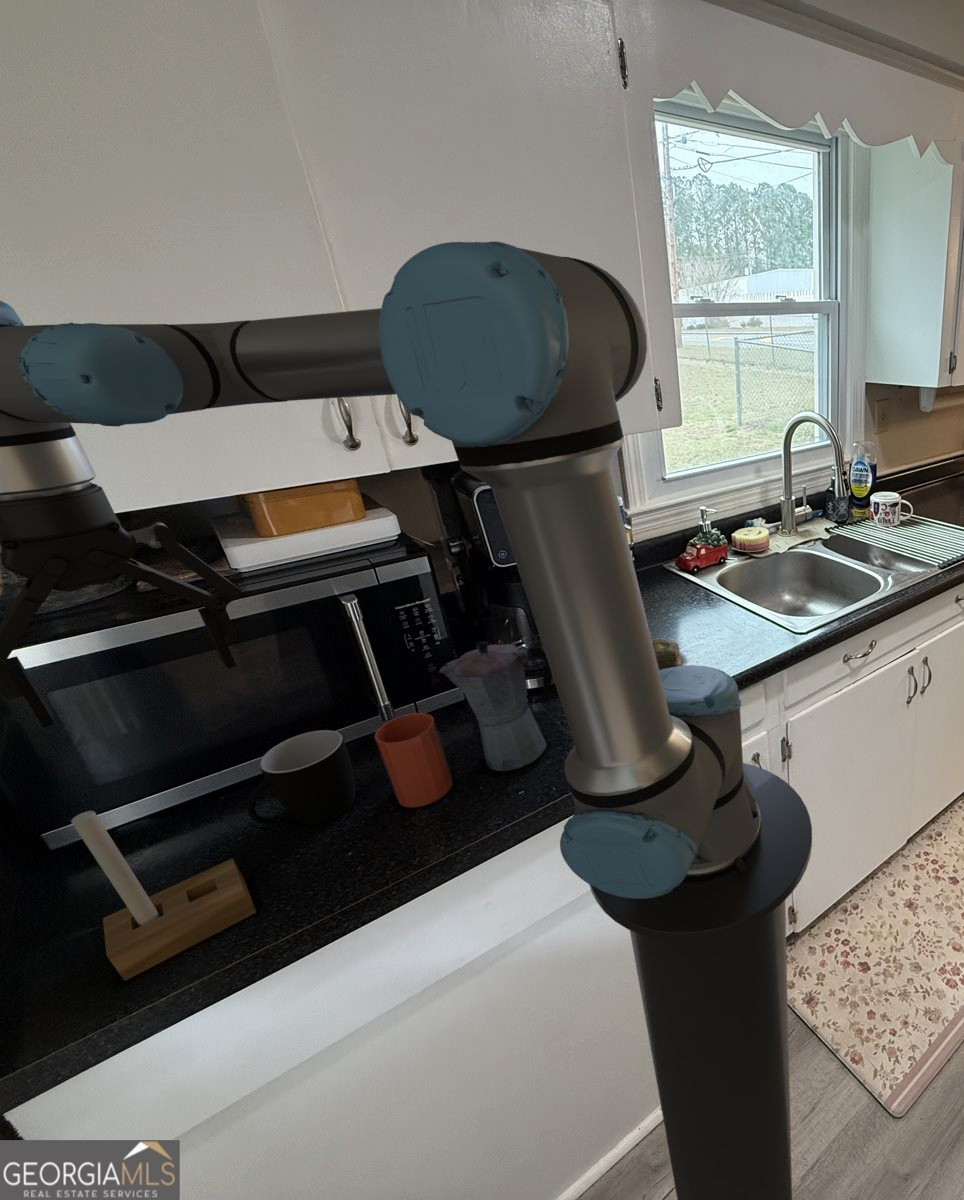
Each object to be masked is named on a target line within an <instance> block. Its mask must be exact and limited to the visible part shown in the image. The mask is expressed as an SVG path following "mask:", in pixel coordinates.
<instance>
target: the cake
mask: <svg viewBox="0 0 964 1200" xmlns="http://www.w3.org/2000/svg"><path fill="white" fill-rule="evenodd" d="M652 644H653V648H654V652H655V656H656V660H657V664H658V669H659V670H663V669H667V668H671V667H677V666H682V665H683V664H684V658H683V656H682V655H680V647H679V644H678V643H677V642H676V641H672V640H669V639H655V640H652Z"/></svg>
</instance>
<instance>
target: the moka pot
mask: <svg viewBox="0 0 964 1200" xmlns="http://www.w3.org/2000/svg"><path fill="white" fill-rule="evenodd" d="M475 647H476V649H473V650H471V651H470V650H469V651H467V652H465V653H464V654H462V655H461V656H460V657H459V658H457V659H453V660H451V661H448V662H447V663H445V665H443V666H442V667H440V669H439V671H438V674H442V675H445V677H446V678H447V679H448V680H450V681H451V682H452V683H453V684H454V685H455V686H456V687H457V689H459V690H460V691H461V692H462V693H463V695H464V696H465V698H466V700H467V702H468V704H469V706H470V708H471V710H472V712H473V713H474V714H475V718H476V719H477V721H478V726H479V727H478V728H479V731H480V738H481V743H482V749H483V755H484V759H485V762H486V765H487V767H488V768H489V769H491V770H494V771H498V772H510V771H513V770H518V769H521V768H523V767H526V766H528V765H530V764H532V763H533V762H534V761H536V760H537V759H538V758H540V757H541V755H543V754H544V752H545V751H546V748H547V746H548V744H547V742H546V740H545V738H544V736H543V733H542V731H541V730H540V727H539V725H538V723H537V720H536V719H535V717H534V715H533V712H532V711H531V709H530V707H529V699H528V698H527V697H528V688H527V682H526V681H527V680H526V674H525V667H524V663H528V662H532V661H534V660H535V659H537V658H541V659H543V660H544V665H543V666H544V667H543V668H544V669H543V671H544V672H543V677H542V678H543V684H542V685H543V687H542V691H541V695H539V696H534V697H533V698H532V699H531V700H532V703H534V704H539V703H543V702H546V701H548V700H550V695H551V688H552V683H553V682H552V681H553V679H552V678H553V676H552V673H551V670H550V666H549V663H548V660H547V657H546V654H545V651H544V650H543V649H542V648H539V646H538V645H534V646H531V647H529V648H528V647H524V648H517V646H516V645H515V644H490V645H489V644H488V641H487V640H483V641H478V642H477V643H475Z"/></svg>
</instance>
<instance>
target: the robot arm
mask: <svg viewBox="0 0 964 1200" xmlns="http://www.w3.org/2000/svg"><path fill="white" fill-rule="evenodd" d="M393 278H394V279H393V281H392V285H391V287H390V289H389V291H388V292H386V293H385V295H384V296H383V299H382V304H381V307H380V308H368V309H357V310H347V311H337V312H335V311H334V312H326V313H316V314H305V315H294V316H284V317H274V318H262V319H251V320H247V319H246V320H237V321H235V320H234V321H227V322H226V321H225V322H210V323H208V322H206V323H177V324H173V323H172V324H169V323H168V324H167V323H126V324H123V323H122V324H121V323H119V324H117V323H111V324H110V323H109V324H106V323H96V322H87V323H74V322H67V323H58V324H36V325H35V324H34V325H30V324H29V325H25V324H24V322H23V321H22V320H21V318H20V316H19V314H18V313H17V311H16V310H15V309H14V307H12V306H11V305H9V303H6V302H4V301H3V300H0V548H1V551H0V570H4V569H5V570H7V571H9V572H10V573H13V574H15V575H18V576H20V577H23V578H25V579H26V581H25V582H24V584H23V586H21V589H20V591H19V594H18V595H17V596H16V598H15V600H14V601H13V603H12V604H11V606H10V608H9V610H8V611H7V612H6V614H5V616H4V617H3V619H2V620H1V622H0V696H1V697H3V698H4V699H6V700H7V701H11V700H13V699H17V698H20V697H23V698H24V699H25V701H26V702H27V704H28V705H29V707H30V708H31V710H32V712H33V714H34V715H35V717H36V718H37V720H38V721H39V724H41V726H42V728H44V729H45V728H48V727H51V726H54V725H56V722H55V718H54V714H53V712H52V711H51V709H50V707H49V706H48V705H47V703H46V701H45V699H44V697H43V696H42V694H41V692H40V691H39V690H38V688H37V686H36V685H35V683H34V681H33V679H32V678H31V676H30V675H29V673H28V672H27V671H26V669H25V667H24V665H23V664H22V662H21V660H20V659H19V657H18V655H17V656H16V655H15V656H12V657H10V655H11V654H12V652H13V650H14V649H15V647H16V646H17V644H18V643H19V641H20V640H21V638H22V636H23V634H24V633H25V632H26V631H27V628H28V626H29V625H30V623H31V622H32V620H33V619H34V617H35V615H36V614H37V612H38V610H39V609H40V608H41V606H42V605H43V604H44V603H45V602H46V600H47V599H48V597H49V595H50V594H51V592H52V590H55V591H60V592H67V593H71V592H75V591H79V590H82V589H84V588H86V587H89V586H95V585H96V586H97V585H106V584H107V585H108V584H111V583H114V582H115V580H117V579H119V578H120V577H121V576H122V575H123V576H126V577H128V578H131V579H133V580H136V581H139V582H141V583H145V584H147V585H150V586H151V587H152V586H153V587H155V588H157V589H159V590H162V591H164V592H167V593H169V594H172V595H174V596H177V597H179V598H182V599H185V600H186V601H189V602H192V603H194V604H196V605H199V606H201V608H197V611H198V613H199V615H200V617H201V619H202V621H203V624H204V626H205V628H206V630H207V632H208V634H209V635H208V636H209V637H210V639H211V641H212V643H213V646H214V648H215V650H216V652H217V654H218V657H219V658H220V660H221V663H223V665H224V666H225V667H226V669H228V670H229V669H232V668H235V667H237V664H236V661H235V659H234V657H233V655H232V652H231V650H230V648H229V646H228V644H227V641H226V639H225V638H226V637H229V636H233V635H235V630H236V629H235V627H234V624H233V622H232V620H231V618H230V616H229V613H228V611H227V607H228V605H229V604H230V603H232V602H234V601H237V600H240V599H242V597H243V596H244V593H243V591H242V590H241V588H240V587H238V586H237V585H236V584H235V583H233V582H232V581H230V580H229V579H227V578H226V577H224V576H223V575H222V574H221V573H219V572H217V570H215V569H214V568H212V566H209V564H207V563H206V562H204V561H203V560H202V559H200V558H199V557H198V556H196V555H195V554H194V553H192V552H191V551H189V550H188V549H187V548H186V547H185V546H184V545H181V544H180V542H178V540H177V538H176V537H175V535H174V534H173V532H172V531H171V529H170V528H169V526H167V525H166V524H165V523H163V522H161V521H153V522H151V523H150V524H149V526H147V527H142V528H139V529H135V530H132V531H127V530H126V529H124V527H122V525H121V524H120V521H119V519H118V517H117V515H116V513H115V511H114V509H113V507H112V505H111V502H110V501H109V499H108V497H107V495H106V493H105V491H104V489H103V487H102V486H101V485H98V484H97V483H93V482H91V481H94V479H95V478H96V477H97V474H96V472H95V470H94V468H93V465H92V463H91V462H90V459H89V457H88V455H87V453H86V451H85V449H84V447H83V445H82V443H81V441H80V439H79V437H78V435H77V433H76V430H74V426H73V425H72V424H86V425H87V424H89V425H100V426H103V427H118V428H119V427H122V426H125V425H126V426H127V425H138V424H150V423H154V422H157V421H161V420H163V419H165V418H166V417H167V416H169V415H175V414H183V413H184V414H185V413H191V412H197V411H204V410H207V409H208V410H209V409H218V408H227V407H235V406H237V407H238V406H244V405H254V404H271V403H284V402H285V403H286V402H292V401H293V402H294V401H308V400H309V401H310V400H325V399H326V400H327V399H343V398H359V397H375V396H392V395H393V396H395V395H396V396H397V398H398V399H399V400H400V403H401V404H402V405H403V406H404V407H405V409H406V410H407V411H408V412H409V413H410V415H411V416H414V417H418V418H420V419H422V420H423V426H424V427H426V429H428V430H429V431H430V432H432V433H433V434H435V435H438V436H439V437H442V438H444V439H446V440H448V441H451V443H452V446H453V449H454V452H455V455H456V457H457V461H458V463H459V466H460V468H461V470H462V471H464V472H466V473H468V474H469V475H471V476H472V477H474V478H476V479H478V480H479V481H481V482H483V483H485V484H486V485H487V486H488V487H490V488H491V491H492V493H493V497H494V500H495V503H496V506H497V509H498V513H499V515H500V518H501V521H502V525H503V527H504V531H505V534H506V536H507V539H508V542H509V546H510V550H511V552H512V555H513V558H514V560H515V565H516V568H517V570H518V575H519V577H520V580H521V583H522V586H523V589H524V592H525V596H526V599H527V601H528V604H529V607H530V611H531V614H532V617H533V620H534V623H535V625H536V629H537V632H538V635H539V639H540V641H541V644H542V647H543V651H544V652H545V654H546V657H547V660H548V663H549V666H550V670H551V673H552V678H553V679H552V680H553V681H554V685H555V687H556V692H557V695H558V696H559V700H560V703H561V706H562V711H563V713H564V715H565V719H566V722H567V725H568V728H569V731H570V733H571V734H570V735H571V737H572V741H573V744H574V746H573V747H572V748H571V749H570V751H569V752H568V754H567V756H566V759H565V761H564V766H563V767H564V769H563V770H564V776H565V780H566V782H567V785H568V788H569V792H570V795H571V798H572V801H573V804H574V813H573V815H572V817H570V818H568V820H567V821H566V823H565V824H564V826H563V831H562V833H561V835H560V840H559V849H560V854H561V856H562V858H563V860H564V862H565V863H566V865H567V866H568V868H569V869H570V870H571V871H572V873H574V875H576V876H577V877H578V878H579V879H581V880H582V881H583V882H585V883H586V884H588V885H589V884H590V885H592V886H594V887H597V888H598V889H600V890H602V891H604V892H607V893H610V894H613V895H616V896H620V897H626V898H635V899H646V898H653V897H658V896H661V895H664V894H666V893H668V892H670V891H672V890H673V888H675V887H677V886H678V885H679V884H680V883H681V882H682V881H704V880H709V879H713V878H716V877H719V876H722V875H724V874H727V873H729V872H731V871H732V870H734V869H736V868H738V870H739V871H740V873H741V874H744V873H745V872H746V871H747V870H748V869H747V867H746V866H745V864H744V862H745V861H746V860H747V859H748V858H749V857H750V855H751V854H752V853H753V851H754V850H755V848H756V846H757V844H758V841H759V838H760V833H761V824H760V812H759V808H758V806H757V804H756V802H755V800H754V798H753V796H752V794H751V792H750V790H749V788H748V786H747V784H746V782H745V780H744V776H743V763H744V760H743V759H744V758H743V757H744V756H743V740H742V738H743V737H742V719H741V707H742V700H741V699H740V695H739V687H738V684H737V682H736V680H735V679H734V678H733V677H732V676H731V675H730V674H728V673H726V672H725V671H724V670H721V669H719V668H716V667H712V666H705V665H693V664H692V665H681V666H677V667H671V668H667V669H663V670H659V669H658V664H657V660H656V656H655V652H654V648H653V644H652V641H653V640H652V636H651V635H652V634H651V631H650V627H649V624H648V619H647V615H646V610H645V606H644V603H643V602H644V601H643V598H642V594H641V591H640V586H639V581H638V578H637V573H636V570H635V565H634V560H633V557H632V553H631V548H630V543H629V539H628V536H627V532H626V528H625V523H624V519H623V515H622V511H621V507H620V502H619V498H618V494H617V490H616V487H615V486H616V485H615V481H614V479H613V477H614V476H613V472H612V469H611V464H612V461H613V459H614V458H615V457H616V455H617V454H618V452H619V451H620V448H621V447H622V445H623V444H624V443H625V436H624V433H623V427H622V424H621V419H620V414H619V410H618V406H617V402H619V401H621V399H623V398H624V397H625V396H626V395H628V394H629V392H630V391H632V389H633V388H634V387H635V385H636V384H637V383H638V381H639V379H640V377H641V375H642V373H643V370H644V367H645V364H646V359H647V353H648V341H647V340H648V337H647V330H646V326H645V321H644V319H643V316H642V314H641V311H640V308H639V306H638V304H637V303H636V301H635V299H634V298H633V296H632V295H631V293H630V292H629V291H628V290H627V288H625V287H624V285H623V284H622V283H621V282H620V281H619V280H618V279H617V278H616V277H615V276H613V275H612V274H610V273H609V272H608V271H607V270H605V269H603V268H602V267H599V266H598V265H596V264H594V263H592V262H589V261H586V260H583V259H582V260H581V259H579V258H575V257H570V256H560V255H555V254H550V253H546V252H540V251H536V250H531V249H526V248H521V247H517V246H515V245H513V244H510V243H505V242H501V241H497V240H495V241H484V242H483V241H468V242H467V241H450V242H449V241H448V242H443V243H438V244H434V245H431V246H429V247H427V248H424V249H423V250H420V251H419V252H417V253H416V254H414V255H413V256H411V257H410V258H409V259H408V260H407V261H405V263H403V265H402V266H401V267H400V268H399V269H398V271H397V272H396V274H395V275H394V277H393ZM138 543H143V544H146V545H148V546H149V547H150V548H152V549H162V548H163V550H165V551H166V553H168V555H170V556H171V557H172V558H174V559H175V560H177V561H178V562H179V563H181V564H183V565H184V567H186V568H188V569H189V570H190V571H192V572H193V573H194V574H196V575H198V576H199V577H200V578H201V579H203V580H204V581H205V582H207V583H209V584H210V585H211V586H212V587H214V588H215V589H217V590H218V591H216V592H214V593H211V592H208V591H207V590H204V589H202V588H199V587H197V586H195V585H192V584H190V583H188V582H186V581H183V580H180V579H178V578H176V577H174V576H171V575H169V574H167V573H164V572H162V571H159V570H157V569H155V568H152V567H151V566H148V565H146V564H143V563H142V562H139V561H137V560H135V559H132V556H133V553H134V551H135V548H136V547H137V544H138Z"/></svg>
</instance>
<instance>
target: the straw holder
mask: <svg viewBox="0 0 964 1200" xmlns="http://www.w3.org/2000/svg"><path fill="white" fill-rule="evenodd" d="M148 897H149V899H150V900H151V902H152V903H153V905H154V907H155V908H156V910H157V911H158V913H159V914H160V916H161V917H159V918H157V919H155V920H153V921H151V922H149V923H147V924H145V925H143V926H141V927H140V926H139V924H138V923H137V921H136V920H135V918H134V916H133V915H132V913H131V912H130V910H129V909H128V907H127V906H126V907H124V908H122V909H120V910H118V911H115V912H114V913H111V914H109V915H107V916H105V917H103V918H102V924H103V933H104V944H105V954H106V957H107V959H108V960H109V961H110V963H111V965H112V966H113V967H114V968H115V969H116V972H118V974H119V975H120V978H122V980H123V981H124V982H125V981H128V980H130V979H132V978H134V977H135V976H137V975H139V974H141V973H143V972H145V971H147V970H149V969H151V968H153V967H155V966H157V965H159V964H161V963H162V962H164V961H166V960H168V959H170V958H172V957H174V956H176V955H177V954H180V953H182V952H183V951H186V950H187V949H189V948H191V947H193V946H195V945H197V944H199V943H201V942H202V941H204V940H207V939H209V938H210V937H213V936H215V935H216V934H218V933H220V932H222V931H223V930H225V929H228V928H230V927H231V926H233V925H235V924H238V923H240V922H241V921H243V920H244V919H247V918H248V917H250V916H252V915H255V914H256V913H257V910H256V907H255V904H254V902H253V899H252V896H251V893H250V891H249V888H248V885H247V882H246V880H245V879H244V876H243V875H242V873H241V871H240V869H239V867H238V865H237V863H236V861H235V859H234V858H232V857H231V858H229V859H228V860H225V861H223V862H221V863H219V864H217V865H215V866H212V867H210V868H208V869H205V870H204V871H202V872H200V873H198V874H196V875H193V876H191V877H189V878H187V879H184V880H182V881H180V882H178V883H176V884H174V885H172V886H170V887H167V888H166V889H163V890H161V891H159V892H157V893H153V894H152V895H150V896H148Z"/></svg>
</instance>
